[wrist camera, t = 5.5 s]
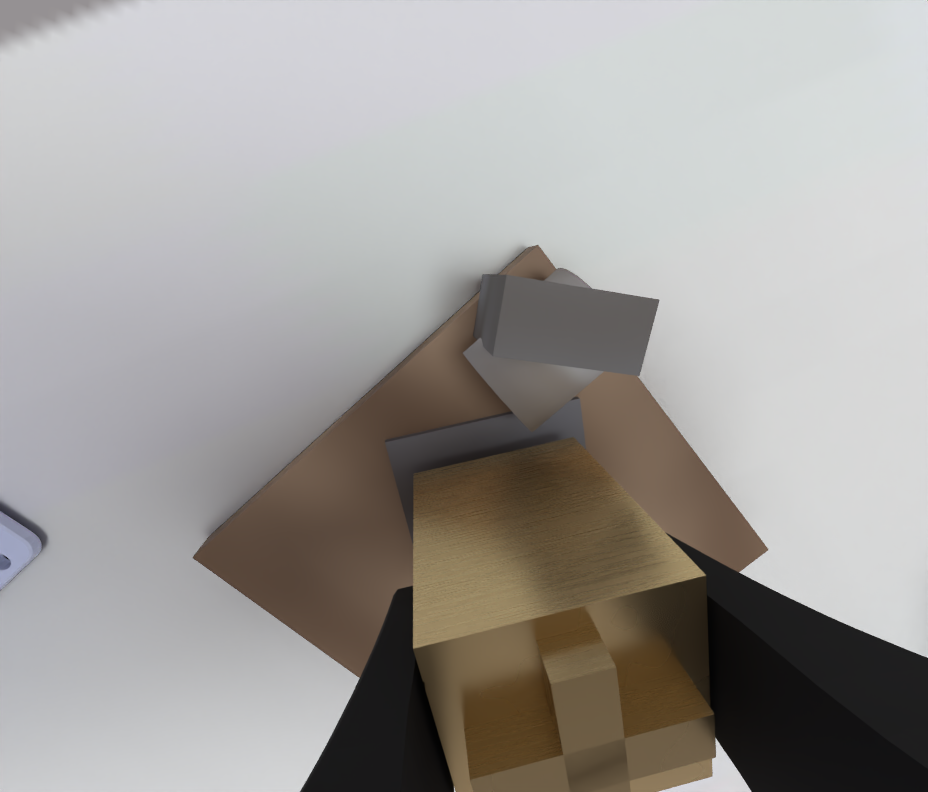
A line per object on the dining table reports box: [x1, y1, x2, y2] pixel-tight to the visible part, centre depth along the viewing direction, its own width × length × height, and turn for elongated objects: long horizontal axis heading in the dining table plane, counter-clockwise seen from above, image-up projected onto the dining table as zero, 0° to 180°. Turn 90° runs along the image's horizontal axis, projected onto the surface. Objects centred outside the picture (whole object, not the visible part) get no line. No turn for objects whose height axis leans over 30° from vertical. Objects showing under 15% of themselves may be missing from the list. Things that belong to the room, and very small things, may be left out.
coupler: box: [413, 437, 716, 792], centre depth 9 cm, size 4×4×6 cm
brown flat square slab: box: [193, 245, 768, 678], centre depth 12 cm, size 14×13×4 cm
